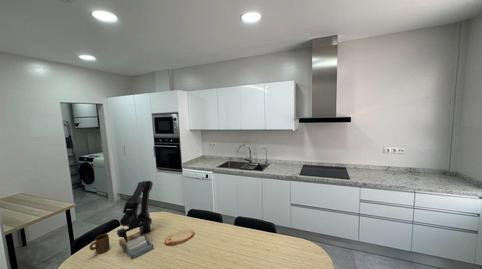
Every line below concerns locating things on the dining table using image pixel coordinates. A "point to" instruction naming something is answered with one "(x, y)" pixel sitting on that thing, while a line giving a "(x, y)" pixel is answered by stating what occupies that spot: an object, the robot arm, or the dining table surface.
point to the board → (129, 239)
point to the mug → (101, 243)
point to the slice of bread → (179, 237)
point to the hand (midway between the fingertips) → (134, 239)
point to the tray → (140, 250)
